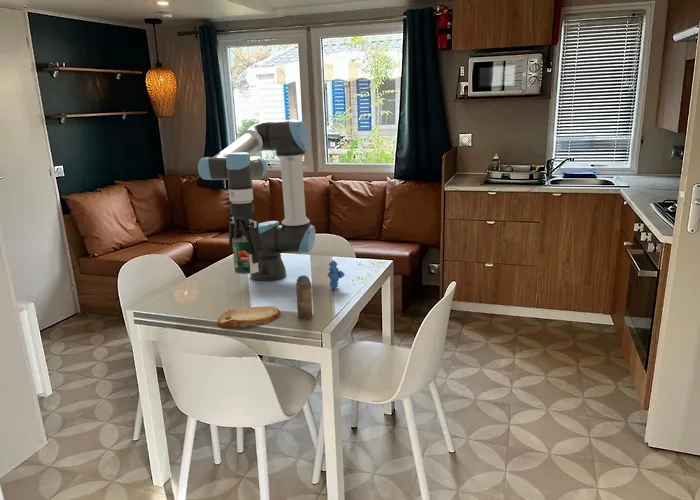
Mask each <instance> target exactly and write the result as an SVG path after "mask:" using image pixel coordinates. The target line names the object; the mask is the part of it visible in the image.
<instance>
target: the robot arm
mask: <svg viewBox="0 0 700 500" xmlns="http://www.w3.org/2000/svg"><path fill="white" fill-rule="evenodd" d="M310 140H311V139H310V133H309V130H308V127H307V125H306V123H305V122H304V121H302V120H299V119H282V120H264V121H260V122H258V123H255V124H253V125H251V126H249V127H248V128H246V129H244V130H243V131H241V133H240V134H239V137H238V138H237V139H236V140H234V141H233V142H231V143H229V145H227V146H226V147H225V148H224V149H222V150H221V151H219V152H218V153H217V154H215V155H214V156H212V157H210V156H206V157H201V158H200V159H199V161H198V163H197V171H198V175H199V177H200V178H201V179H203V180H209V181H220V180H221V181H226V180H227V183H228V184H227V185H228V197H229V202H230V203H229V211H230V212H229V213H230V215H232V217H228V218H227V220H228V221H227V222H228V246H229V247H231V249H232V250H233V244H232V239H233V238H241V237H242V236H246V240H247V241H248V246H249V249H250V253H249V262H250V278H251V279H252V280H254V281H259V282H262V281H263V282H265V281H266V282H267V281H268V282H270V281H275V280H276V281H277V280H280V279H283V278H285V277H286V276H287V270H286V267H285V264H284V262H283V260H282V254H299V255H300V254H309V253H310V252H311V251H312V250H313V248H314V245H315V241H316V227H315V226H314V225H312V224H311V221H310V219H309V218H308V217H307V214H306V199H305V198H306V197H305V187H304V185H305V183H304V173H303V172H304V170H303V158H304V157H305V155H306V151H307V150H308V149H310ZM261 151H265V152H266V151H271V152H272V151H273V152H274V151H275V157H276V158H278V159H279V160H280V161H279V163H280V172H281V173H280V174H281V185H282V187H281V188H282V197H283V210H284V212H283V213H284V219H283V220H281V224H280V222H279V221H278V220H270V221H264V222H259V221H258V220H253V216H252V215H253V214H254V213H255V205H254V202H253V200H254V191H253V180H258V179H260V178H261V177H263V176H264V175H265V174H266V172H267V169H268V168H267V167H268V166H267V162H266V161H265V159H264V158H262V157H261V156H259V155H254V154H257V153H259V152H261ZM258 266H259V271H258Z"/></svg>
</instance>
